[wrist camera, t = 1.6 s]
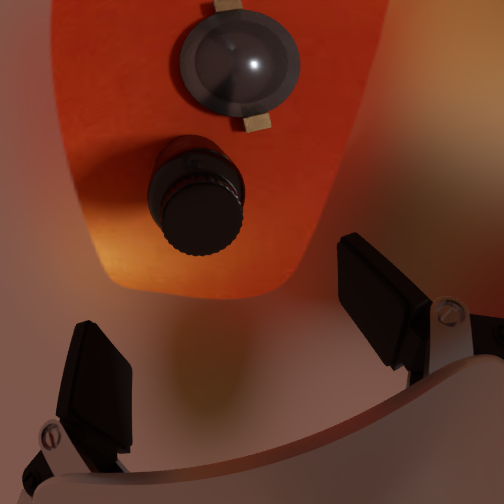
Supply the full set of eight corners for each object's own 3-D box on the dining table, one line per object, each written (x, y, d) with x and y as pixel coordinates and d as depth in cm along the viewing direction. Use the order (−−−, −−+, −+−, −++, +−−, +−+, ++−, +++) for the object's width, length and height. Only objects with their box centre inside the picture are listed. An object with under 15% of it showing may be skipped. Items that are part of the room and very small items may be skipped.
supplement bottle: (155, 202, 25) (143, 273, 15) (156, 133, 22) (137, 159, 12) (223, 202, 27) (253, 269, 17) (229, 135, 24) (268, 162, 14)
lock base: (165, 14, 16) (164, 10, 15) (279, -3, 17) (284, -7, 16) (199, 143, 24) (200, 145, 23) (307, 118, 25) (312, 119, 24)
